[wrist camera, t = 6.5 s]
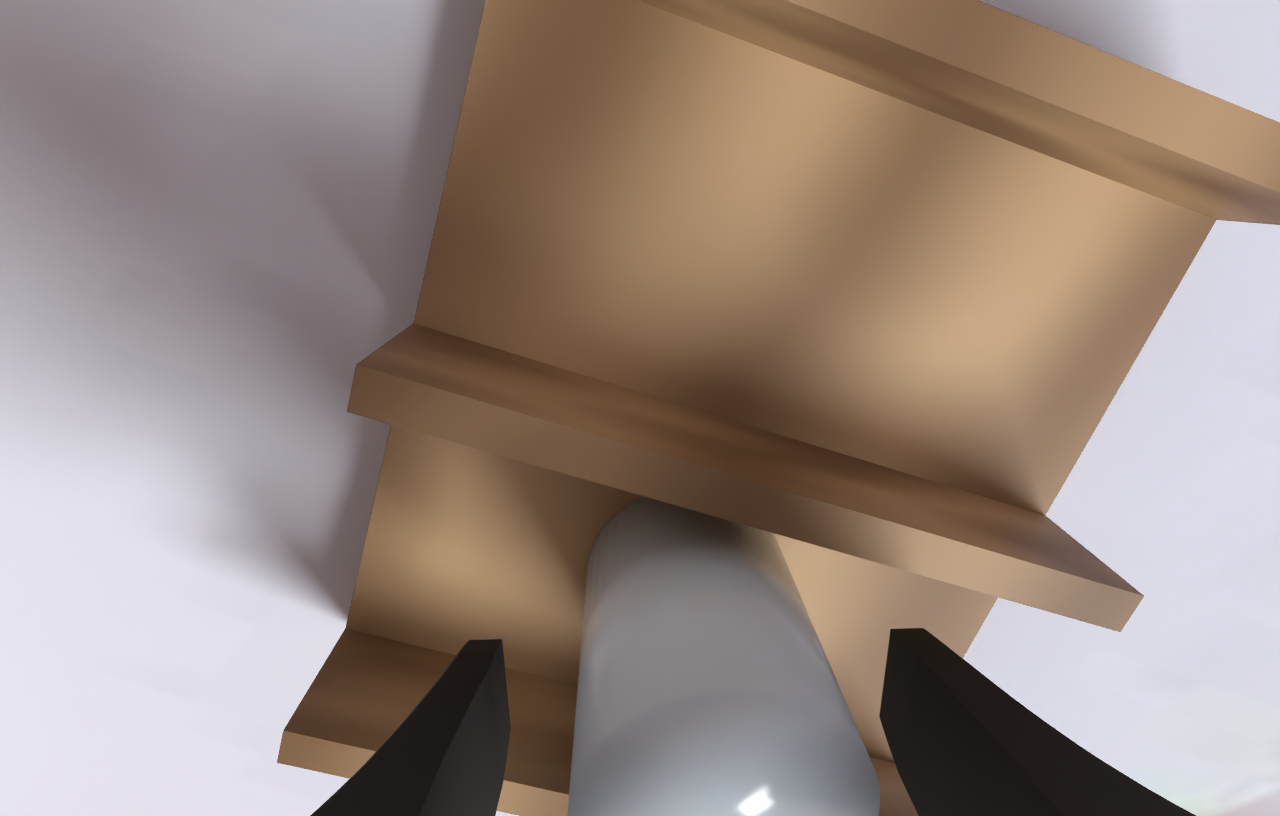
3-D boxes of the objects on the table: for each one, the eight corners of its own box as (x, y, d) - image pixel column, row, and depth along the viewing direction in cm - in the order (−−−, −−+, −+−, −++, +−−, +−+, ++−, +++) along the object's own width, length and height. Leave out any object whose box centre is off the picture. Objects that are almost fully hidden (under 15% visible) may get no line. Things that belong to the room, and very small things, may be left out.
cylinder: (781, 478, 14) (884, 675, 9) (784, 648, 16) (876, 911, 10) (575, 497, 14) (547, 707, 9) (598, 665, 16) (586, 938, 10)
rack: (1198, 176, 14) (1418, 179, 10) (873, 756, 18) (939, 907, 15) (518, -86, 12) (470, -206, 8) (355, 628, 17) (276, 762, 13)
